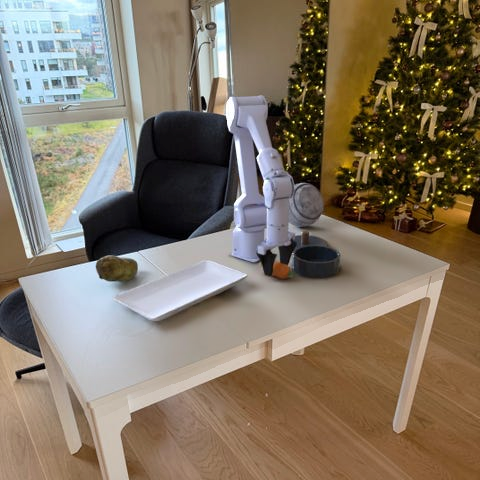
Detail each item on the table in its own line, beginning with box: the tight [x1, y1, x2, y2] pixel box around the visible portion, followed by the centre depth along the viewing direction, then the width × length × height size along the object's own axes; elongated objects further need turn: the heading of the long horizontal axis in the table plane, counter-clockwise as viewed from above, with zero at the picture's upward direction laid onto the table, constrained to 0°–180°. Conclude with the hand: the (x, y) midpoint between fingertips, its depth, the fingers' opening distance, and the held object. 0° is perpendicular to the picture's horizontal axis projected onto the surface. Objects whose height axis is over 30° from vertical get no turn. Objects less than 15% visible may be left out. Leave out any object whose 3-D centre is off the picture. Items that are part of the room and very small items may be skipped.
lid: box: [292, 230, 328, 250], centre depth 142 cm, size 14×14×5 cm
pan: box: [291, 245, 342, 279], centre depth 127 cm, size 13×13×4 cm
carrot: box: [261, 260, 295, 280], centre depth 123 cm, size 10×4×4 cm, turn 50°
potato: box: [95, 254, 139, 283], centre depth 121 cm, size 8×13×8 cm, turn 131°
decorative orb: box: [288, 182, 325, 228], centre depth 157 cm, size 15×14×15 cm
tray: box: [113, 259, 249, 322], centre depth 113 cm, size 17×32×4 cm, turn 136°
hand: (276, 270), depth 124 cm, fingers open, 7 cm apart
